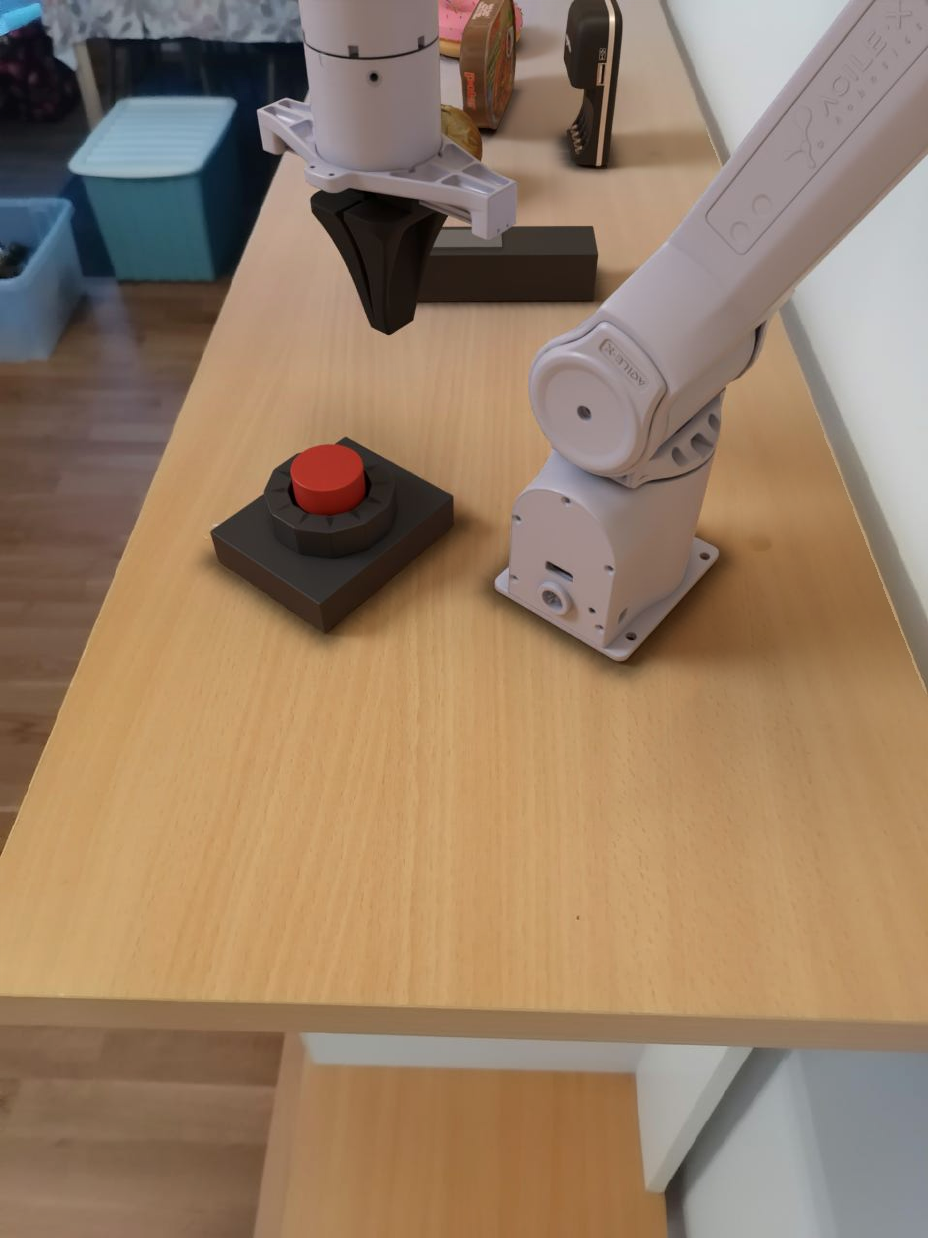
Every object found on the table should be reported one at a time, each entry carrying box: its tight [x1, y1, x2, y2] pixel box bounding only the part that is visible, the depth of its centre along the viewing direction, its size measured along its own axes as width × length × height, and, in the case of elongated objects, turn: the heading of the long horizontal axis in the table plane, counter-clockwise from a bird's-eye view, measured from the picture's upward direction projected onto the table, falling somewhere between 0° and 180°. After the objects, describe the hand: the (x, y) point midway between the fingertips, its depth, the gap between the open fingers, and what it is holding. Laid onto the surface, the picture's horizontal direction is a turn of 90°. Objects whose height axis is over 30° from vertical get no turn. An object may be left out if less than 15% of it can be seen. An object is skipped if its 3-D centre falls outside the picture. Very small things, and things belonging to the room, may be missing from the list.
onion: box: [441, 103, 483, 162], centre depth 75 cm, size 8×8×8 cm
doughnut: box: [438, 0, 524, 59], centre depth 98 cm, size 11×11×4 cm
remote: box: [417, 225, 599, 302], centre depth 67 cm, size 15×4×4 cm, turn 90°
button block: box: [209, 436, 455, 634], centre depth 50 cm, size 10×8×4 cm
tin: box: [458, 0, 517, 130], centre depth 85 cm, size 15×3×8 cm, turn 168°
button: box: [290, 443, 366, 516], centre depth 48 cm, size 4×4×2 cm
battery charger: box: [563, 0, 624, 167], centre depth 78 cm, size 7×4×11 cm, turn 2°
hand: (392, 323), depth 50 cm, fingers closed
